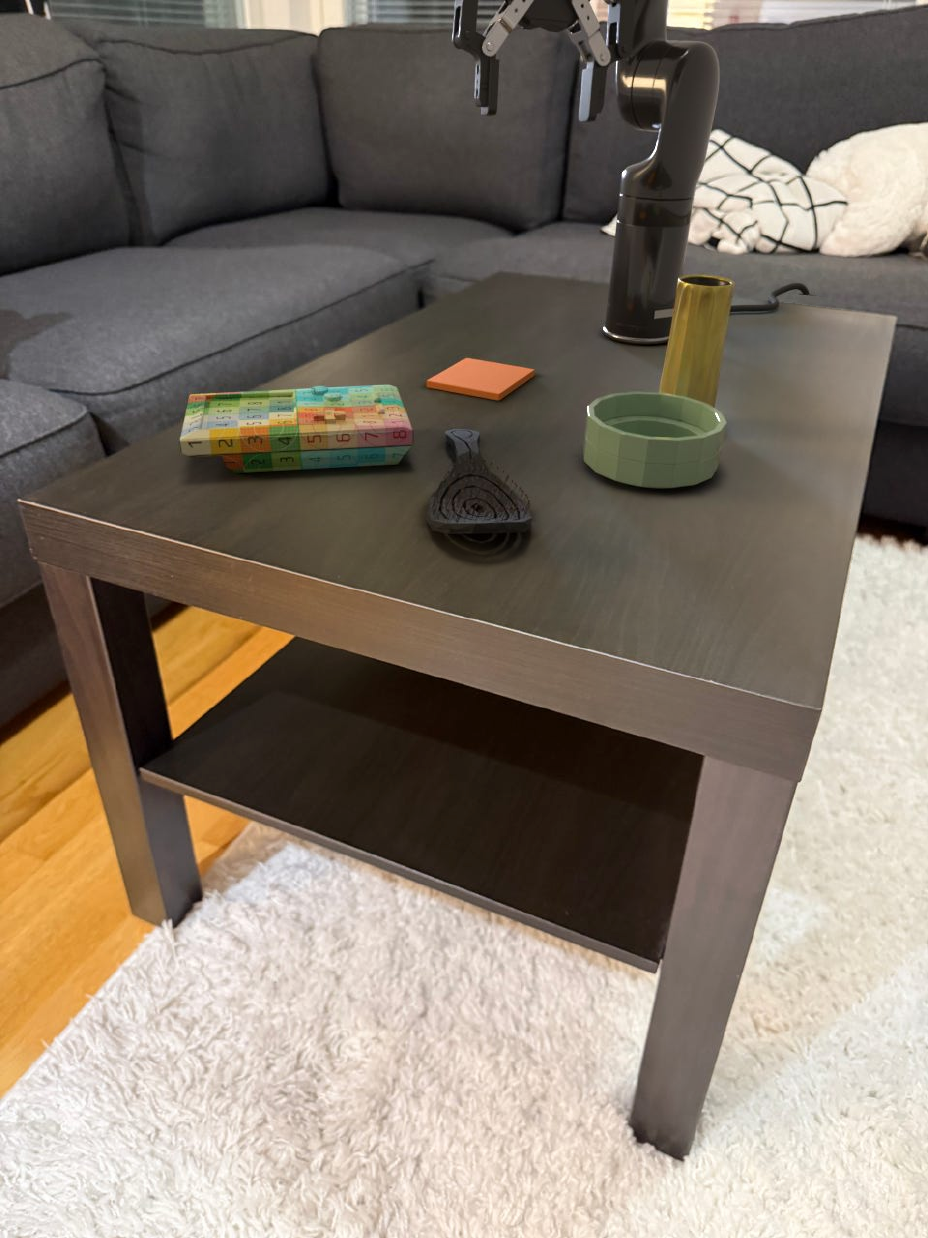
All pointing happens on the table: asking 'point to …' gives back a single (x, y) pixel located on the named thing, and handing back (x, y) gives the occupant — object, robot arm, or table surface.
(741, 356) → the table surface
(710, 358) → the vase
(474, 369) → the square tile
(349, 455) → the puzzle game
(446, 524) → the hairbrush
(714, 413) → the bowl
